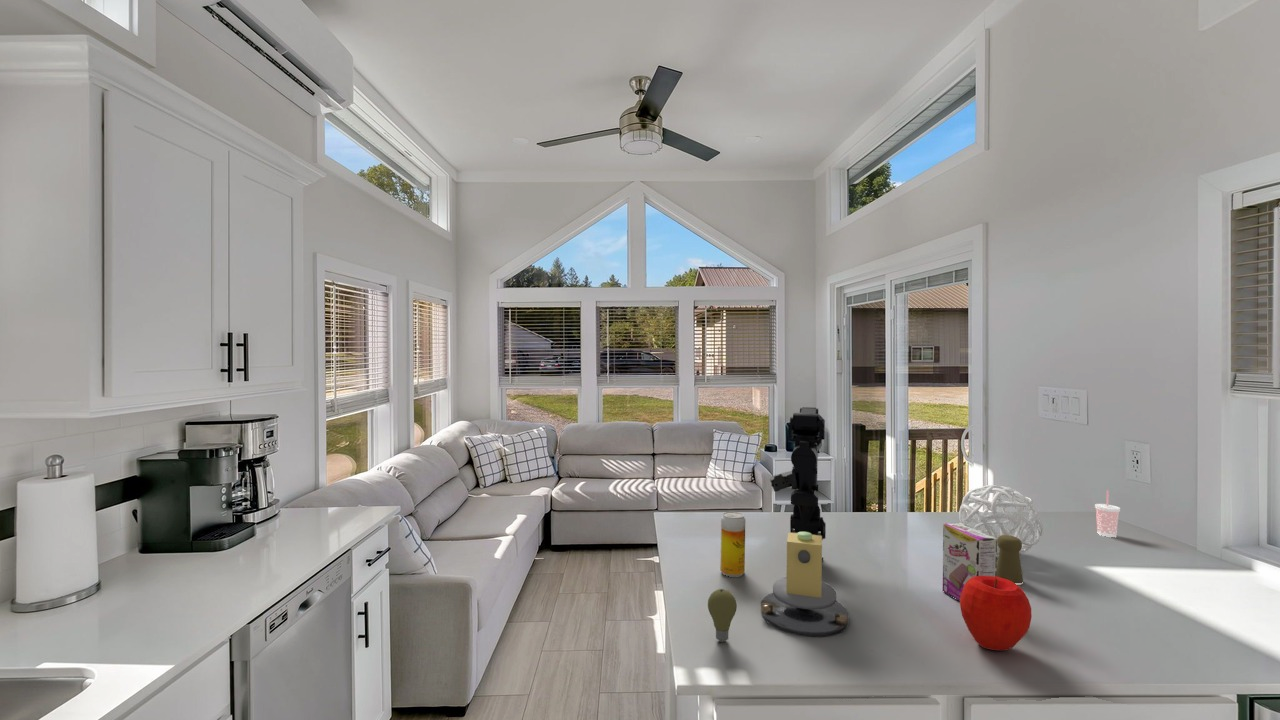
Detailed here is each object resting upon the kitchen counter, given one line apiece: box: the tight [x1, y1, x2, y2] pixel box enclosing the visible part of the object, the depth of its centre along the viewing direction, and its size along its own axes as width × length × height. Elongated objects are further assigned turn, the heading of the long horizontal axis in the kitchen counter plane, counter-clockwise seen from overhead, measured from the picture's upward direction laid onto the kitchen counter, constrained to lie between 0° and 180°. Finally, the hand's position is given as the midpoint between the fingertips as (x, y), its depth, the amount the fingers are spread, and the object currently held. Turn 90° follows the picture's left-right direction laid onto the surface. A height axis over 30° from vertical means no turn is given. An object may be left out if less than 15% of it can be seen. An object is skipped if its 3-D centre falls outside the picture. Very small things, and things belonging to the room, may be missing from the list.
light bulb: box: [707, 588, 738, 643], centre depth 109 cm, size 6×6×10 cm
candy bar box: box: [942, 522, 998, 602], centre depth 126 cm, size 11×5×16 cm, turn 9°
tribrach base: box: [760, 592, 850, 638], centre depth 120 cm, size 19×18×4 cm
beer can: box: [719, 511, 746, 578], centre depth 142 cm, size 6×6×15 cm
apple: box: [958, 576, 1032, 651], centre depth 107 cm, size 12×12×13 cm
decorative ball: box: [958, 484, 1044, 557], centre depth 155 cm, size 20×20×19 cm
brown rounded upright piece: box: [996, 535, 1024, 583], centre depth 138 cm, size 6×6×11 cm
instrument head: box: [772, 531, 837, 610], centre depth 119 cm, size 13×13×13 cm
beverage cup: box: [1094, 489, 1121, 538], centre depth 173 cm, size 6×6×14 cm
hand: (804, 525), depth 140 cm, fingers closed
